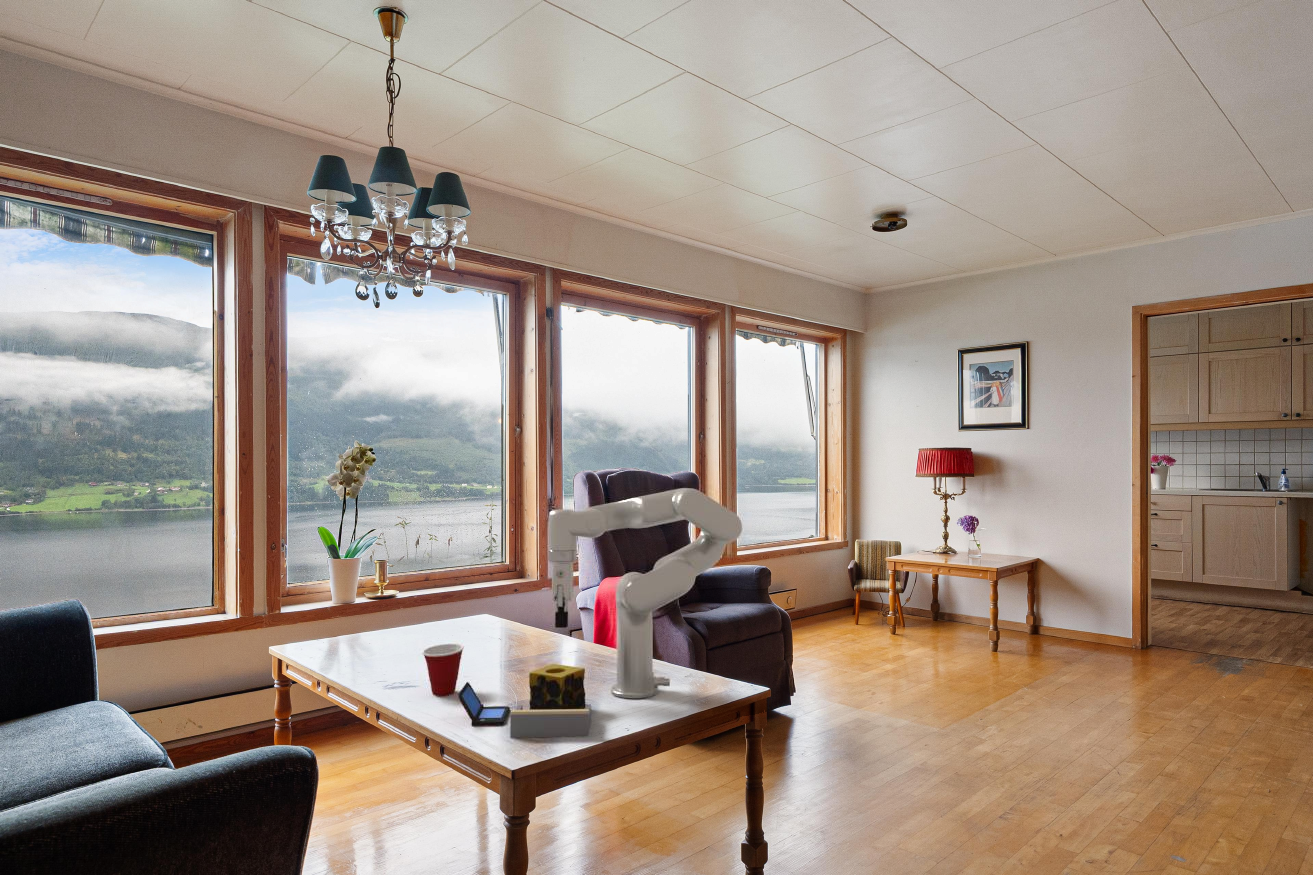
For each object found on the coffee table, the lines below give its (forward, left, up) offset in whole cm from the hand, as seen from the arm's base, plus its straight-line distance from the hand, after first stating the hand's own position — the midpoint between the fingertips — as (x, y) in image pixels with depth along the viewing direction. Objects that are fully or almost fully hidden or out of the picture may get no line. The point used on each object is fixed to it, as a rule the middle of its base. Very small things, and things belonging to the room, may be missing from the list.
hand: (561, 626), depth 201 cm
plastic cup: (+32, -5, -18) cm, 37 cm away
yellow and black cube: (0, +11, -18) cm, 22 cm away
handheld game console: (+17, +16, -19) cm, 30 cm away
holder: (0, +25, -18) cm, 31 cm away
